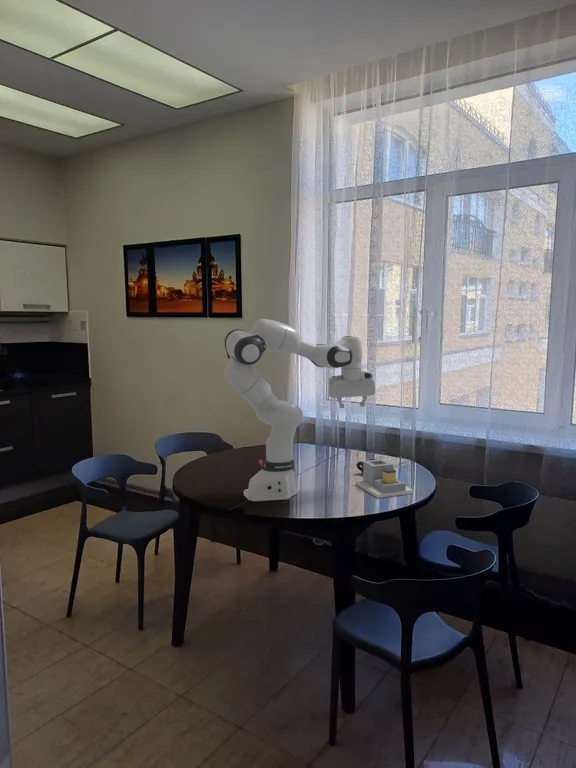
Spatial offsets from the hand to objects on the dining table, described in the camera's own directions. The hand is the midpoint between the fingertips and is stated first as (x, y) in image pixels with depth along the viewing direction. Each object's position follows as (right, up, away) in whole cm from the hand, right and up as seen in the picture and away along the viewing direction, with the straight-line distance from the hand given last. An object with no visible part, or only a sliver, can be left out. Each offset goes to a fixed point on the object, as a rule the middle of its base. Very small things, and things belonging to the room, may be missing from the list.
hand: (352, 407), depth 224 cm
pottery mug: (+10, -32, +20) cm, 40 cm away
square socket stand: (+13, -34, -2) cm, 37 cm away
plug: (+14, -33, -7) cm, 37 cm away
